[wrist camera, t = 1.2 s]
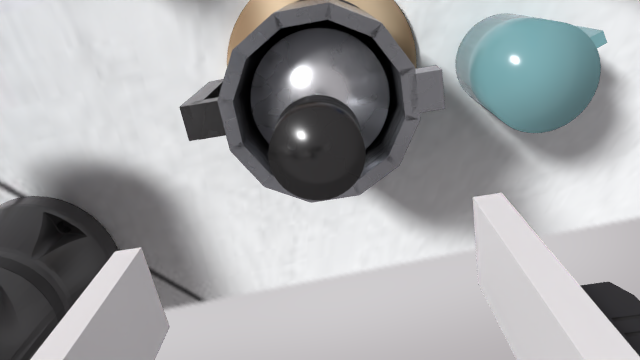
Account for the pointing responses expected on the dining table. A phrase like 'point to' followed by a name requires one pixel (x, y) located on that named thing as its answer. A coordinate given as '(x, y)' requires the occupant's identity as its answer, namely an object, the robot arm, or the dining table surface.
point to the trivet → (375, 3)
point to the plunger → (319, 110)
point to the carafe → (235, 89)
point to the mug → (530, 69)
